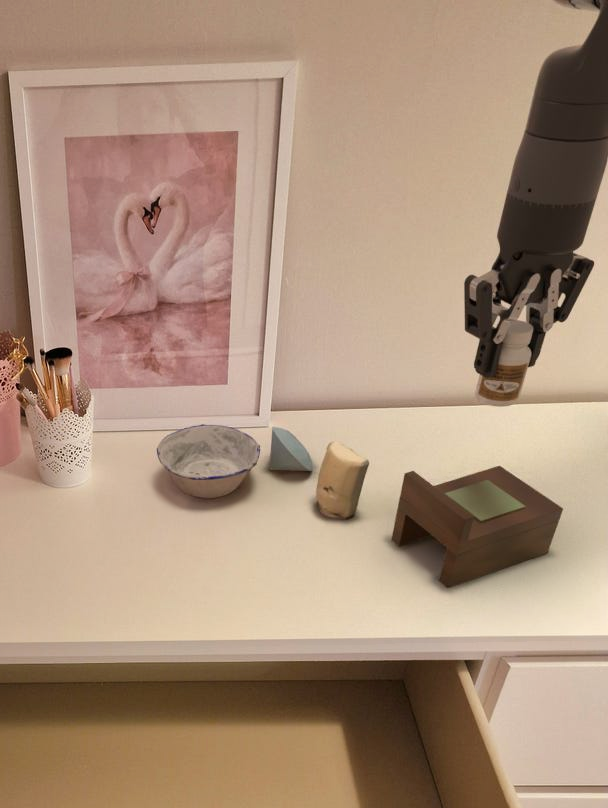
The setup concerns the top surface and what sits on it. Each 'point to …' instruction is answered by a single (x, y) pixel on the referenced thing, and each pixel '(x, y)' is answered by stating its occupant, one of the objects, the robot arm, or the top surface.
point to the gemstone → (288, 452)
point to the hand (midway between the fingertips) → (504, 368)
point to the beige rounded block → (340, 481)
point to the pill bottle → (508, 368)
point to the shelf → (476, 521)
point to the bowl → (208, 459)
